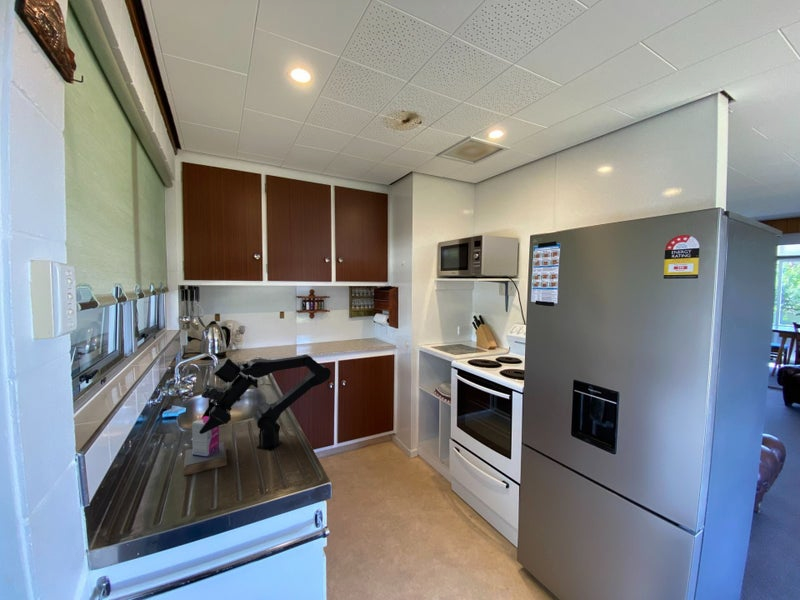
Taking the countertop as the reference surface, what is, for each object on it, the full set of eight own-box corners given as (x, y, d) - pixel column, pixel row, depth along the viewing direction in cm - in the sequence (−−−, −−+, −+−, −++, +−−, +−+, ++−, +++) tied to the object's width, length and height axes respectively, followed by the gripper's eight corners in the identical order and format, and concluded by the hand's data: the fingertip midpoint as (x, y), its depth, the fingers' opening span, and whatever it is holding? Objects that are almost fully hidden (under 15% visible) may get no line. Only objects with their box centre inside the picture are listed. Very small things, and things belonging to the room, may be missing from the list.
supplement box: (207, 458, 109) (206, 424, 109) (192, 456, 111) (191, 422, 110) (220, 449, 115) (219, 417, 114) (205, 447, 116) (204, 415, 116)
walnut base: (224, 449, 121) (224, 441, 121) (227, 465, 111) (226, 456, 111) (185, 458, 115) (185, 449, 115) (184, 475, 105) (183, 466, 104)
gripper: (215, 370, 121) (180, 405, 116) (218, 383, 105) (177, 425, 100) (240, 387, 126) (207, 422, 121) (246, 403, 110) (208, 444, 105)
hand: (200, 427), depth 111 cm, fingers open, 9 cm apart
